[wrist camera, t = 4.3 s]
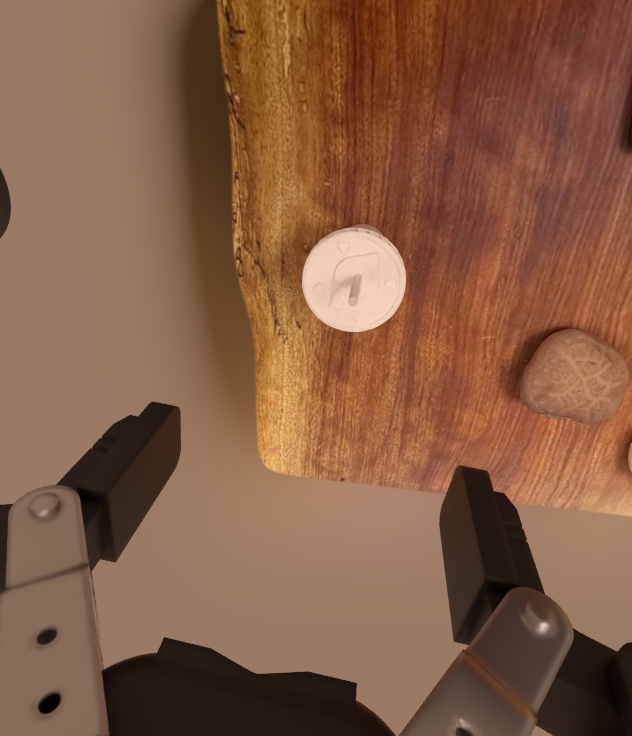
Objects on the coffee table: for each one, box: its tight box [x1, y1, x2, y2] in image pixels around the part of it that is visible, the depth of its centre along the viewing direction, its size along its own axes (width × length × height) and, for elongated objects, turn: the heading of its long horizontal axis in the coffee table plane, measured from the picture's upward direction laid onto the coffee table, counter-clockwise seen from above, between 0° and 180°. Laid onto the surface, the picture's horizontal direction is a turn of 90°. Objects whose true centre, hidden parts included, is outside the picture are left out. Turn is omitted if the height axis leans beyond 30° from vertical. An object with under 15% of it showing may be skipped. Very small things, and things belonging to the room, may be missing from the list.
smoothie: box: [302, 224, 406, 332], centre depth 29 cm, size 6×6×14 cm
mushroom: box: [519, 328, 630, 425], centre depth 36 cm, size 8×6×8 cm
